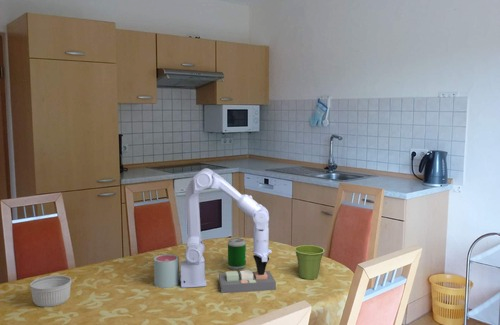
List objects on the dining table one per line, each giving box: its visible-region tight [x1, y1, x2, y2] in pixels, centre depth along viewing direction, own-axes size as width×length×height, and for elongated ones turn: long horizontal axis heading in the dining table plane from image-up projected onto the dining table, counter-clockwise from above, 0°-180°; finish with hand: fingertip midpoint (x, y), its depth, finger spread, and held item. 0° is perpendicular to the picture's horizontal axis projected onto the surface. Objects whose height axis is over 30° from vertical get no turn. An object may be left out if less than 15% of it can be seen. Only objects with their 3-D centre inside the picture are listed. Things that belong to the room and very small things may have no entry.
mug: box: [153, 253, 180, 289], centre depth 177 cm, size 14×9×10 cm
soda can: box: [227, 237, 247, 271], centre depth 192 cm, size 8×8×12 cm
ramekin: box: [29, 274, 72, 308], centre depth 159 cm, size 13×13×7 cm
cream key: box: [239, 269, 253, 280], centre depth 173 cm, size 4×4×4 cm
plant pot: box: [293, 244, 325, 280], centre depth 182 cm, size 12×12×11 cm
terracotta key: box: [254, 271, 268, 280], centre depth 174 cm, size 4×4×4 cm
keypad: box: [218, 270, 277, 294], centre depth 173 cm, size 20×12×3 cm, turn 99°
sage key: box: [225, 270, 239, 281], centre depth 172 cm, size 4×4×4 cm
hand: (260, 274), depth 174 cm, fingers closed, pressing on terracotta key
